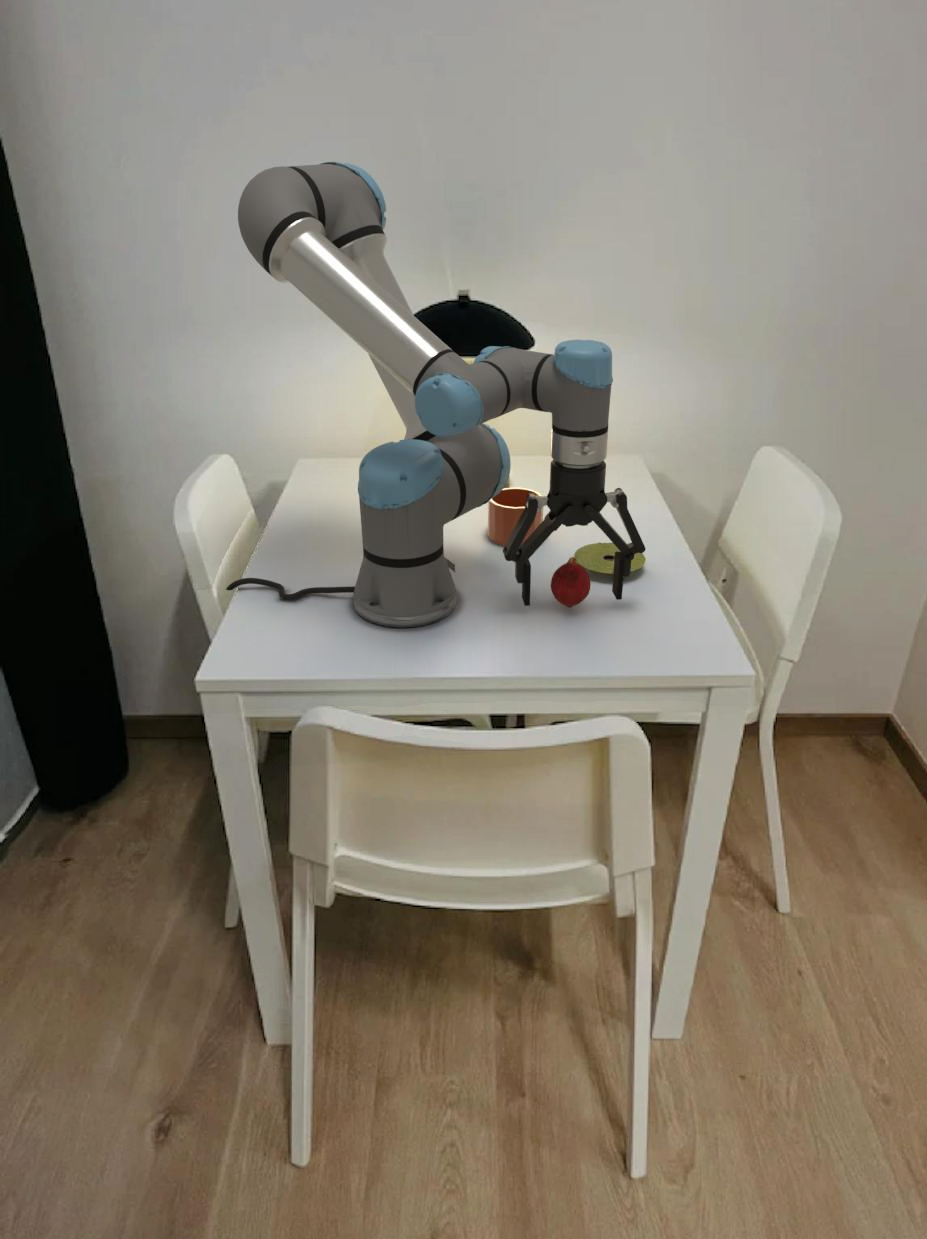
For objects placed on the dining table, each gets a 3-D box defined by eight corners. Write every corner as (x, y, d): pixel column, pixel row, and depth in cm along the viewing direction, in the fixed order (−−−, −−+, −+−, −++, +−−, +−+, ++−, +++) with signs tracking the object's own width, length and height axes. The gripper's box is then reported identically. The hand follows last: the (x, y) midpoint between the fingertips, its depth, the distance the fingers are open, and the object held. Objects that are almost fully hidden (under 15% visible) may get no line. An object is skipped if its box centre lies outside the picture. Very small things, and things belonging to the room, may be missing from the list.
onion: (587, 618, 132) (590, 568, 128) (547, 614, 133) (549, 565, 129) (590, 599, 137) (594, 551, 133) (552, 596, 138) (554, 548, 134)
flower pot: (491, 548, 153) (492, 509, 149) (484, 526, 161) (485, 488, 157) (546, 545, 154) (547, 507, 150) (536, 523, 162) (537, 486, 158)
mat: (640, 587, 140) (641, 576, 139) (567, 579, 143) (568, 567, 142) (647, 557, 150) (649, 546, 149) (579, 549, 152) (580, 538, 151)
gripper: (491, 474, 119) (490, 616, 130) (676, 464, 122) (661, 604, 132) (483, 455, 126) (484, 591, 136) (659, 446, 128) (647, 581, 139)
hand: (571, 598), depth 134 cm, fingers open, 13 cm apart
